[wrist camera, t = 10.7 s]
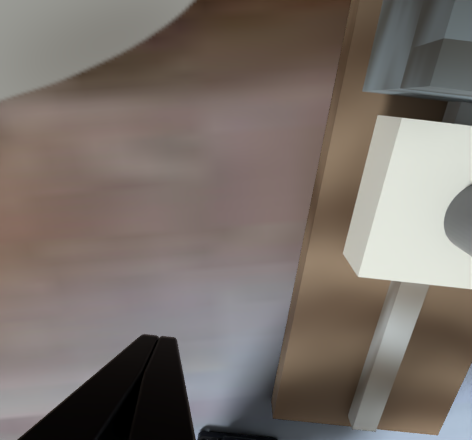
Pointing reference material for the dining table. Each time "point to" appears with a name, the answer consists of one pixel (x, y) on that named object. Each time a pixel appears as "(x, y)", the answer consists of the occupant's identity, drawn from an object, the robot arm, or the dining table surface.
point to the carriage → (414, 205)
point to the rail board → (337, 226)
